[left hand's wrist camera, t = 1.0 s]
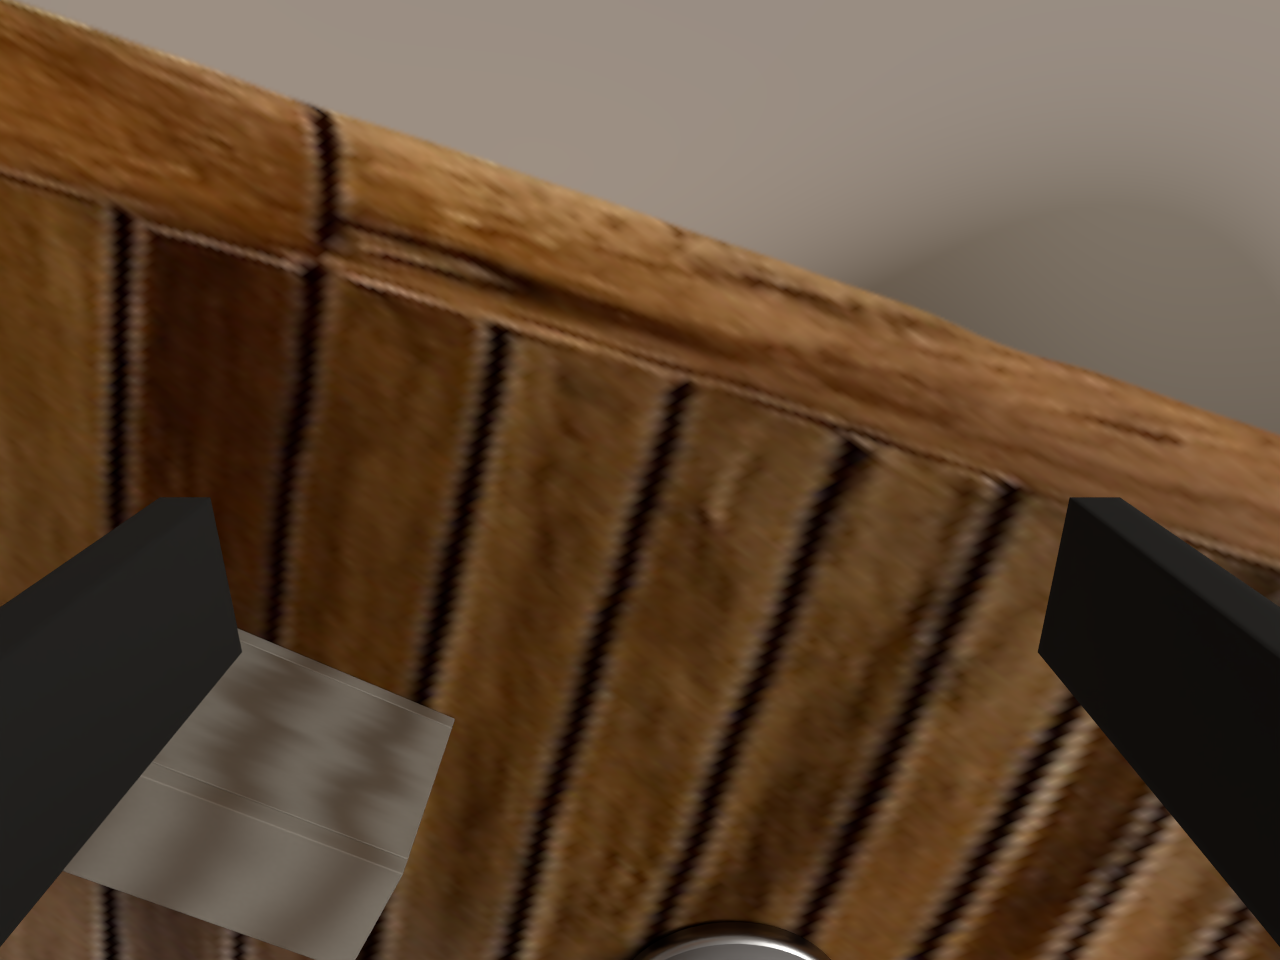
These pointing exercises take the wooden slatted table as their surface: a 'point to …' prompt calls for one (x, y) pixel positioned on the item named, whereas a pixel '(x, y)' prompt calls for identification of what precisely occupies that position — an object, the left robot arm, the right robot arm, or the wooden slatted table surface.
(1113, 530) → the left robot arm
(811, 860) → the wooden slatted table surface
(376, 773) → the cabinet
